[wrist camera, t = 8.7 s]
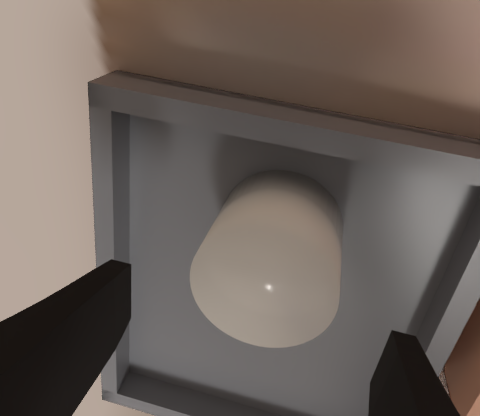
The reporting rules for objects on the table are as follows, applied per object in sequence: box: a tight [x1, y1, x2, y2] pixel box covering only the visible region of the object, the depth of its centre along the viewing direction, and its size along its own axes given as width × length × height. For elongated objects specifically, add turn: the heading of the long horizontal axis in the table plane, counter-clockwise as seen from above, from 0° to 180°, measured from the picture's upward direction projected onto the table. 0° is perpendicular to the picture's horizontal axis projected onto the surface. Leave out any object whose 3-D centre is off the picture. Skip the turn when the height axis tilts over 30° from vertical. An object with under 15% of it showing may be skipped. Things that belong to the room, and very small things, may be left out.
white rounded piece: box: [190, 170, 343, 348], centre depth 15 cm, size 5×5×4 cm
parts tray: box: [88, 70, 480, 416], centre depth 18 cm, size 16×14×2 cm
